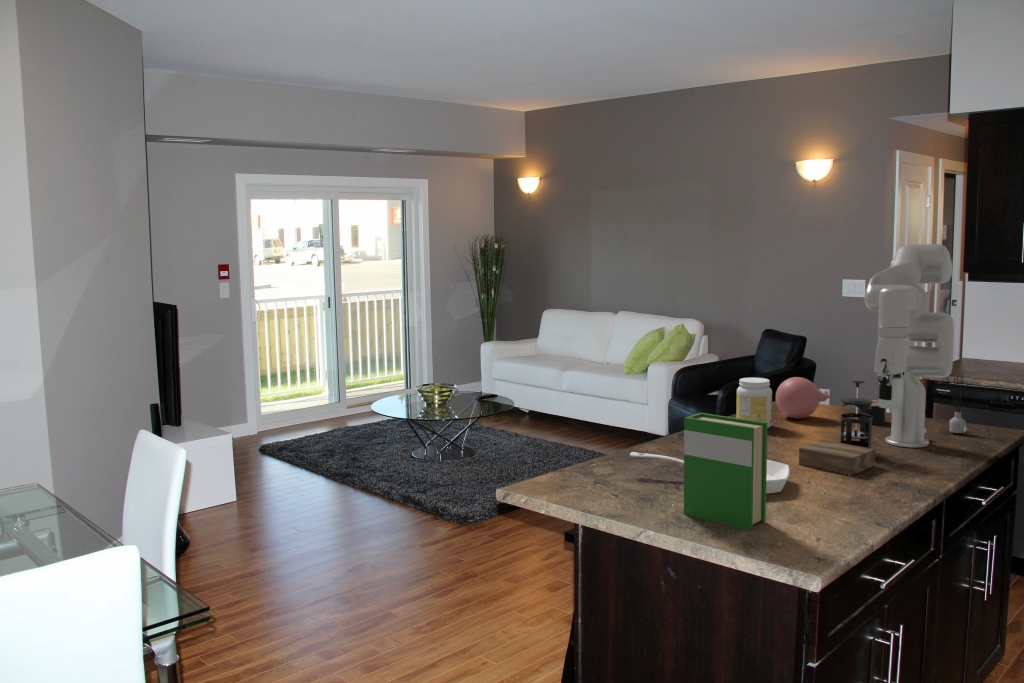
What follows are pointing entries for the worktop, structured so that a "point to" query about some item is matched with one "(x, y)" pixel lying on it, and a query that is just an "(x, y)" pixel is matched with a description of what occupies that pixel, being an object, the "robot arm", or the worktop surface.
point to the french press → (857, 421)
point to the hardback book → (725, 469)
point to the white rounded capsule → (894, 395)
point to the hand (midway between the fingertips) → (890, 397)
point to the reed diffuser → (957, 414)
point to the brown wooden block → (837, 457)
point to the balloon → (799, 397)
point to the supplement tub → (754, 400)
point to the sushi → (875, 413)
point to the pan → (774, 478)
